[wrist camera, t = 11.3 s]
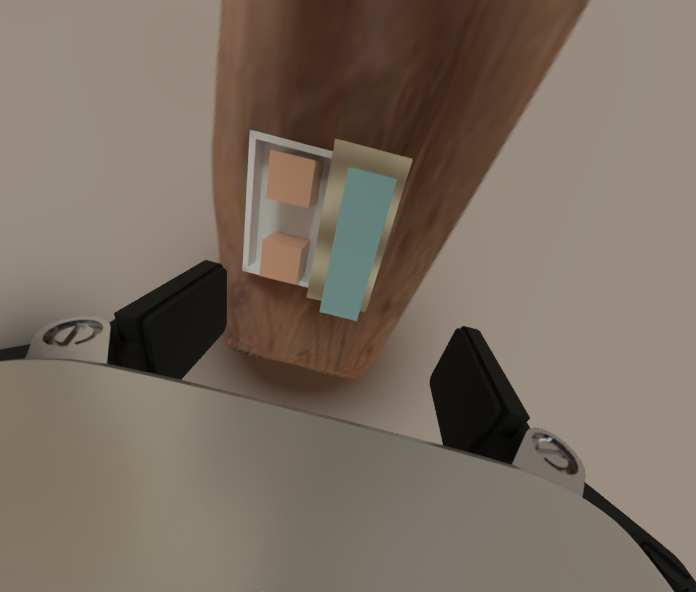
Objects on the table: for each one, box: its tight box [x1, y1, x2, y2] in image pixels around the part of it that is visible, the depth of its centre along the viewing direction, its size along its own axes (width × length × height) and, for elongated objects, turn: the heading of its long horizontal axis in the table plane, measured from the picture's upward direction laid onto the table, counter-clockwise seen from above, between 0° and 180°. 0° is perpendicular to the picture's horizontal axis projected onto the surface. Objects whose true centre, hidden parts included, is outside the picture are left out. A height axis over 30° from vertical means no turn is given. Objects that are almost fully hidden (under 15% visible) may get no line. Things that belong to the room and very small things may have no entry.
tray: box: [242, 130, 333, 287], centre depth 28 cm, size 14×8×2 cm, turn 167°
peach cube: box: [259, 231, 311, 285], centre depth 29 cm, size 4×4×4 cm
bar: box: [319, 167, 397, 321], centre depth 24 cm, size 12×4×6 cm, turn 167°
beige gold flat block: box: [307, 139, 413, 312], centre depth 28 cm, size 16×7×3 cm, turn 167°
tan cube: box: [267, 150, 324, 208], centre depth 25 cm, size 4×4×4 cm
